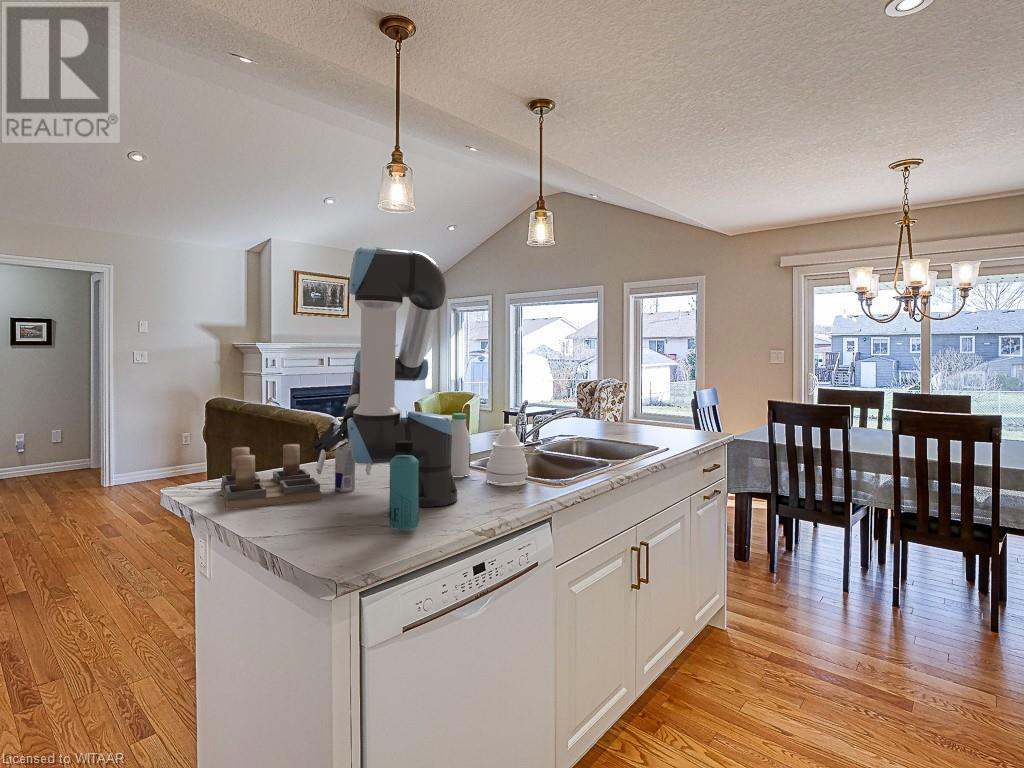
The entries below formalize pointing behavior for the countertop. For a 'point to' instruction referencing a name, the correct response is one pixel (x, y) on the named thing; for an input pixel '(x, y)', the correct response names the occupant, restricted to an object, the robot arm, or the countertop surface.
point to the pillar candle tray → (267, 481)
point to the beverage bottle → (403, 488)
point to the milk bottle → (460, 446)
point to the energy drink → (344, 470)
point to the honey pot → (507, 459)
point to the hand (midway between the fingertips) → (343, 472)
